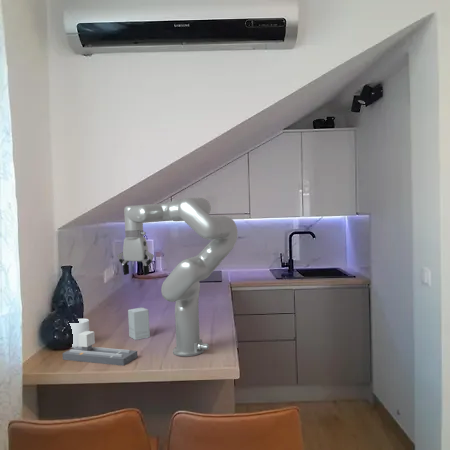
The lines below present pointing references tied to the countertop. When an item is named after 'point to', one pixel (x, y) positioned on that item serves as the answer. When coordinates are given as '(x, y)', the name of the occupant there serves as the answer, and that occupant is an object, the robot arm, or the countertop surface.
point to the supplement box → (138, 323)
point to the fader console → (101, 355)
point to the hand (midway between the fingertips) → (136, 274)
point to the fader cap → (86, 340)
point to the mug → (78, 330)
